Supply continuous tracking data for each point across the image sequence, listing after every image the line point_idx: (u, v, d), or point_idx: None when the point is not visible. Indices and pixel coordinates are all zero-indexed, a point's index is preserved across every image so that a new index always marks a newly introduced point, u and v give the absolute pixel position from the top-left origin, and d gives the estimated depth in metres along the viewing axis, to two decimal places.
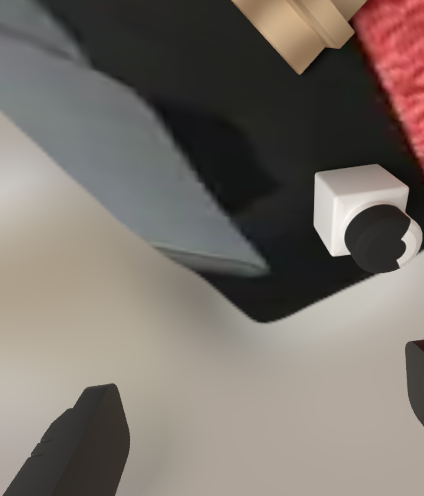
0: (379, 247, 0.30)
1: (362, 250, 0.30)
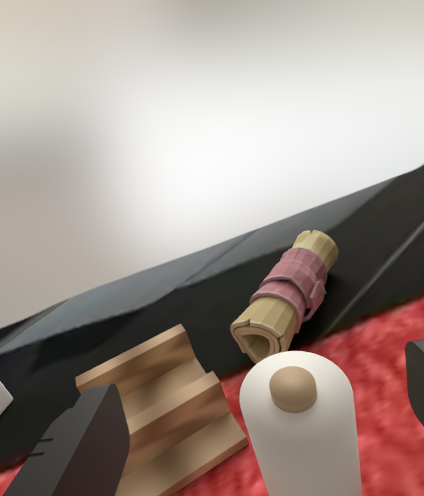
0: None
1: None
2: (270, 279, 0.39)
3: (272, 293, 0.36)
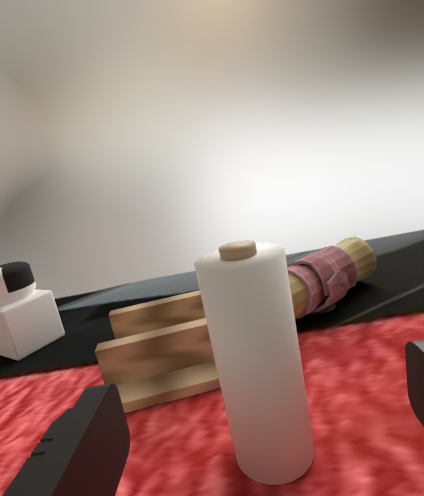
0: (13, 263, 0.47)
1: None
2: (293, 263, 0.42)
3: None
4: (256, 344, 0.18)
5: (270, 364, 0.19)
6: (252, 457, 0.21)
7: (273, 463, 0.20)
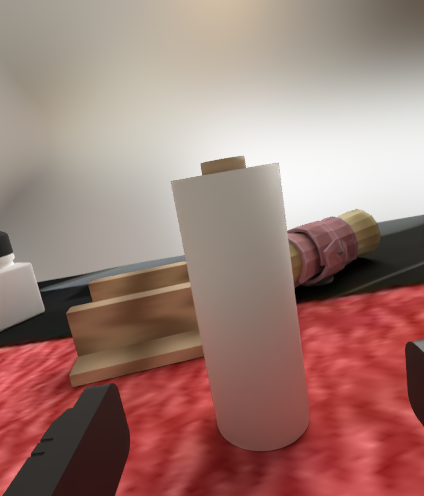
0: None
1: None
2: (288, 232, 0.39)
3: None
4: (242, 270, 0.15)
5: (258, 297, 0.15)
6: (235, 417, 0.17)
7: (260, 424, 0.17)
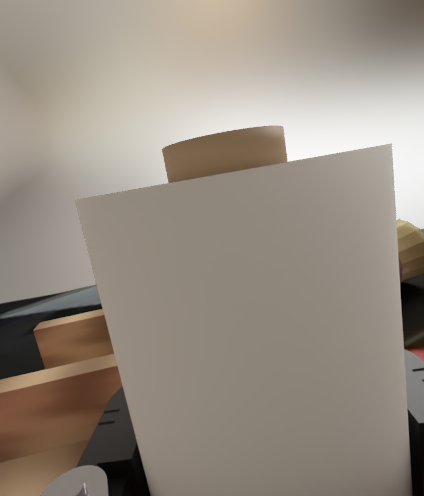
0: None
1: None
2: None
3: None
4: None
5: None
6: None
7: None
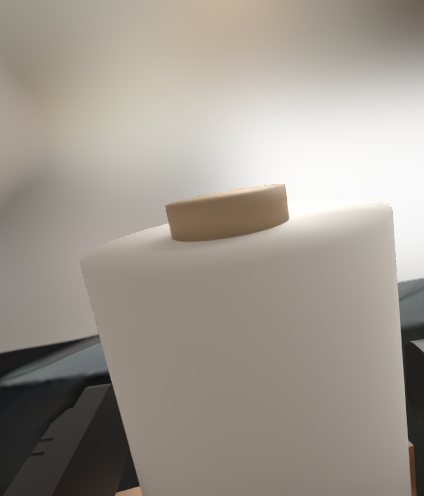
0: None
1: None
2: None
3: None
4: None
5: None
6: None
7: None
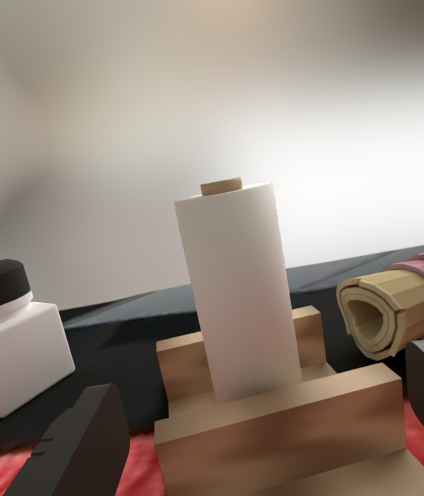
0: None
1: None
2: (416, 257, 0.29)
3: (409, 265, 0.26)
4: (241, 283, 0.17)
5: (257, 307, 0.17)
6: None
7: None
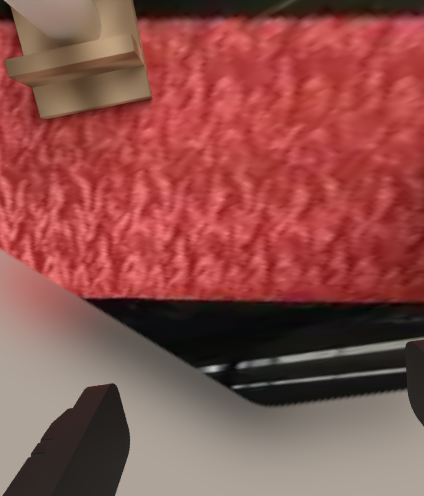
0: None
1: None
2: None
3: None
4: (24, 4, 0.25)
5: (41, 11, 0.26)
6: (54, 42, 0.32)
7: None
